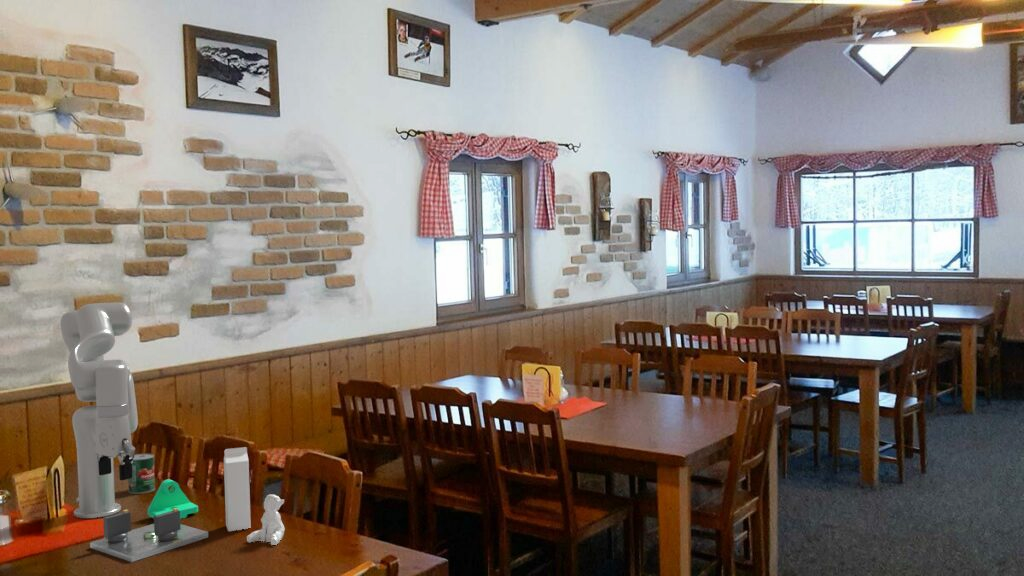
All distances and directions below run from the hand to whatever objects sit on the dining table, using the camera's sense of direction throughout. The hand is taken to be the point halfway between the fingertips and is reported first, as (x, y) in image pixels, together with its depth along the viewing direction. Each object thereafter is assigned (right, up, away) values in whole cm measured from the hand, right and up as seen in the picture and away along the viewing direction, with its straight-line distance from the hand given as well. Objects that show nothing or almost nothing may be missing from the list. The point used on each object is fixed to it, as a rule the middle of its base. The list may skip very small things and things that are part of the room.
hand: (115, 476), depth 232 cm
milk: (+27, -17, +15) cm, 36 cm away
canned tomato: (-16, -16, +54) cm, 59 cm away
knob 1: (0, -17, +1) cm, 17 cm away
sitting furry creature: (+39, -18, +4) cm, 43 cm away
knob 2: (+13, -16, +2) cm, 21 cm away
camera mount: (+5, -17, +26) cm, 31 cm away
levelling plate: (+8, -18, +3) cm, 20 cm away
